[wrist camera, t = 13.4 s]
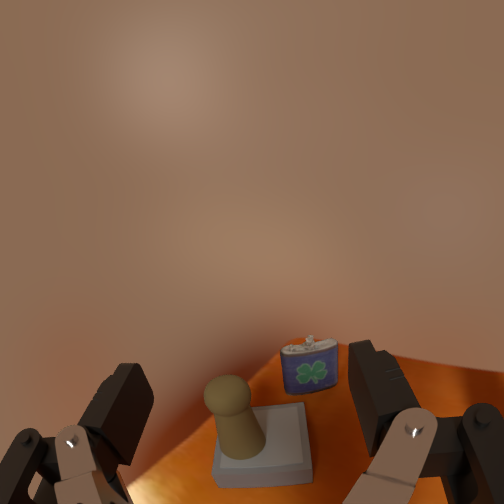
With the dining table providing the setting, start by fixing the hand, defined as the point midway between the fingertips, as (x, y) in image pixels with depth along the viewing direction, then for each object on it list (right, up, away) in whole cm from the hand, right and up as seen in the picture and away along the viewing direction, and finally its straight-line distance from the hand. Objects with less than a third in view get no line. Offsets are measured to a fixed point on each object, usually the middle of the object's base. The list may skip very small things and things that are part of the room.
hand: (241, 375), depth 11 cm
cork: (-1, -20, +23) cm, 30 cm away
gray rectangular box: (+2, -23, +25) cm, 34 cm away
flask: (+10, -19, +37) cm, 42 cm away
